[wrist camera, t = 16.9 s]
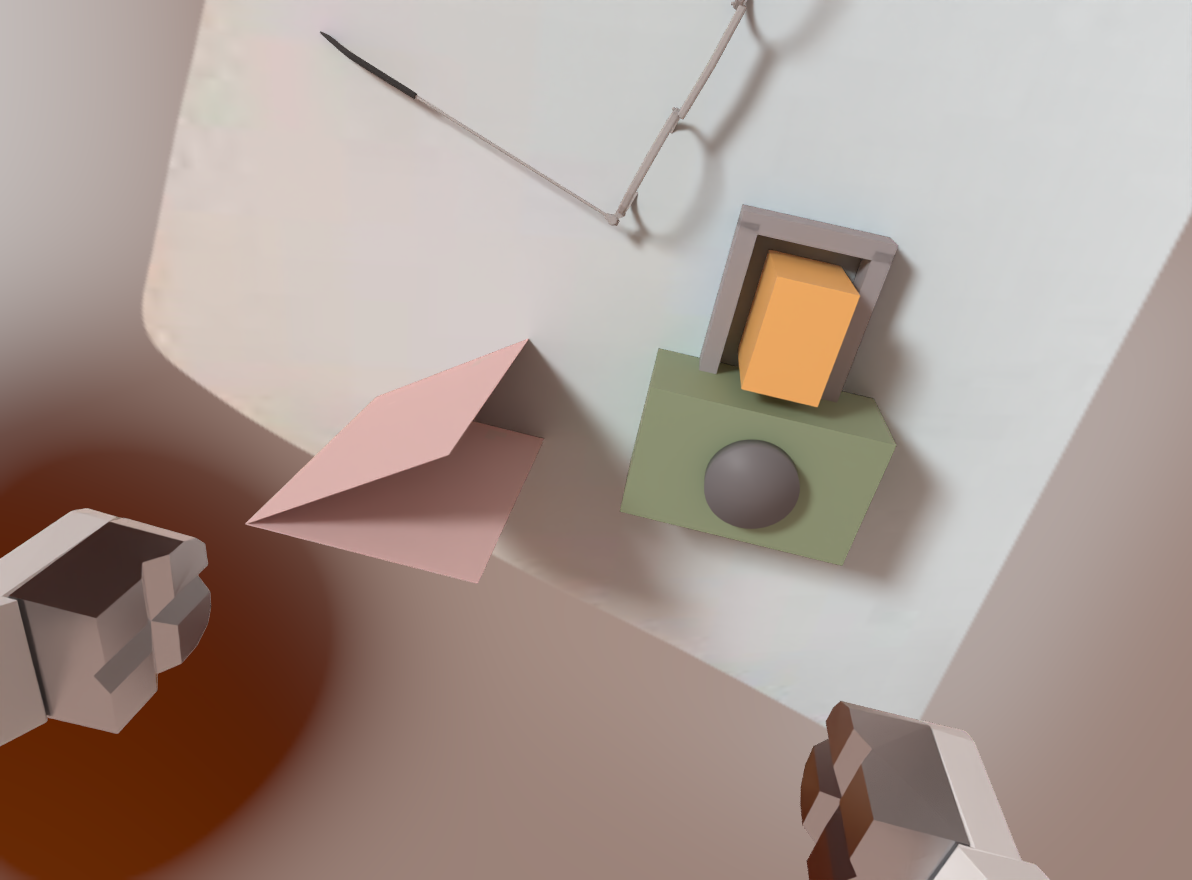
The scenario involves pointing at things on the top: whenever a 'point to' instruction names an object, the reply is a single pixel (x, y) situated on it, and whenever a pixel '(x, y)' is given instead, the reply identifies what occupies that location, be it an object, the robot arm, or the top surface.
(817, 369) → the chute block
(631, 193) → the eyeglasses
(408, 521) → the greeting card
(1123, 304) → the top surface
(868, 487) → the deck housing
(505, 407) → the top surface
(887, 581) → the top surface
